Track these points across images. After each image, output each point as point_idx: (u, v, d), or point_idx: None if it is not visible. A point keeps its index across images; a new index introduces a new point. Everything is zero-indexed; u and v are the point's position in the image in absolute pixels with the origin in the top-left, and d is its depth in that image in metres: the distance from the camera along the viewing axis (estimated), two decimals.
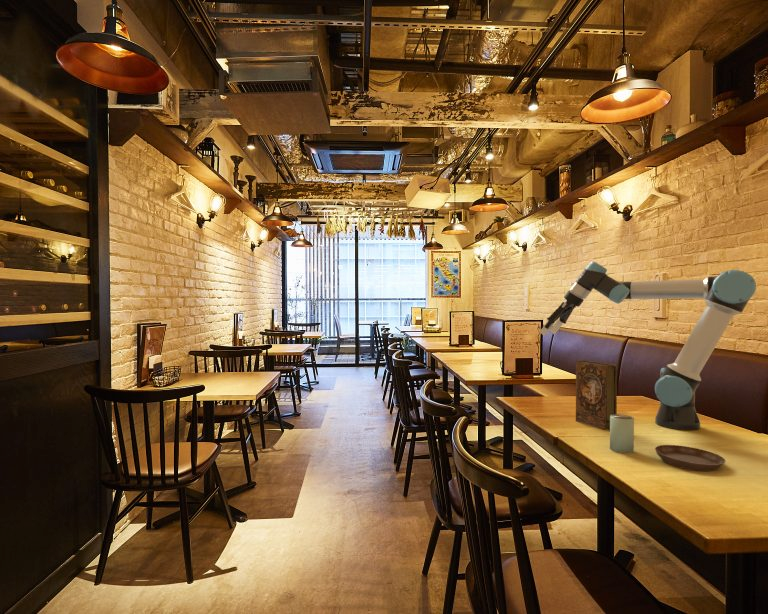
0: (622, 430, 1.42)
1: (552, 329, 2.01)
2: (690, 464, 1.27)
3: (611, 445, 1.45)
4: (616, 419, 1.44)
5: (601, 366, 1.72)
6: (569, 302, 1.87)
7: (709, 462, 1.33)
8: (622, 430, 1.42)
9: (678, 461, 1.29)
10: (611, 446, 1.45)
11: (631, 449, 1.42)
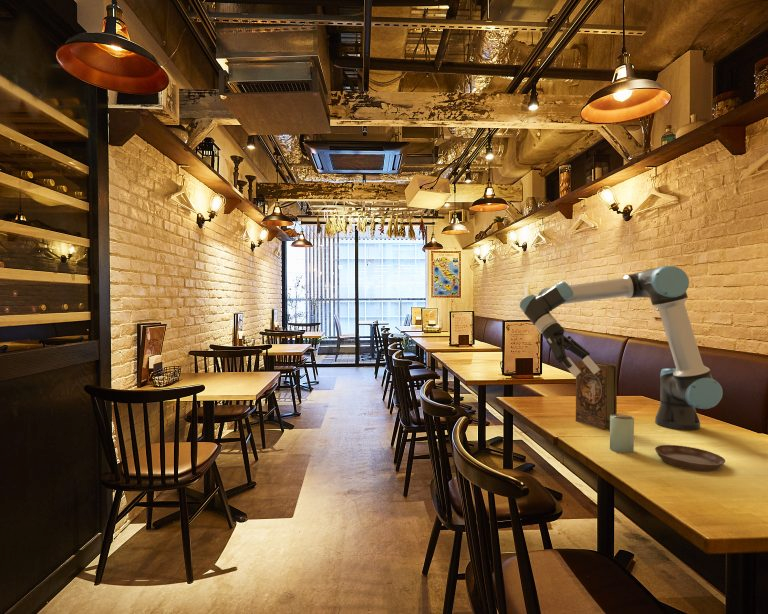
0: (622, 430, 1.42)
1: (592, 369, 1.60)
2: (690, 464, 1.27)
3: (611, 445, 1.45)
4: (616, 419, 1.44)
5: (601, 366, 1.72)
6: (551, 335, 1.62)
7: (709, 462, 1.33)
8: (622, 430, 1.42)
9: (678, 461, 1.29)
10: (611, 446, 1.45)
11: (631, 449, 1.42)
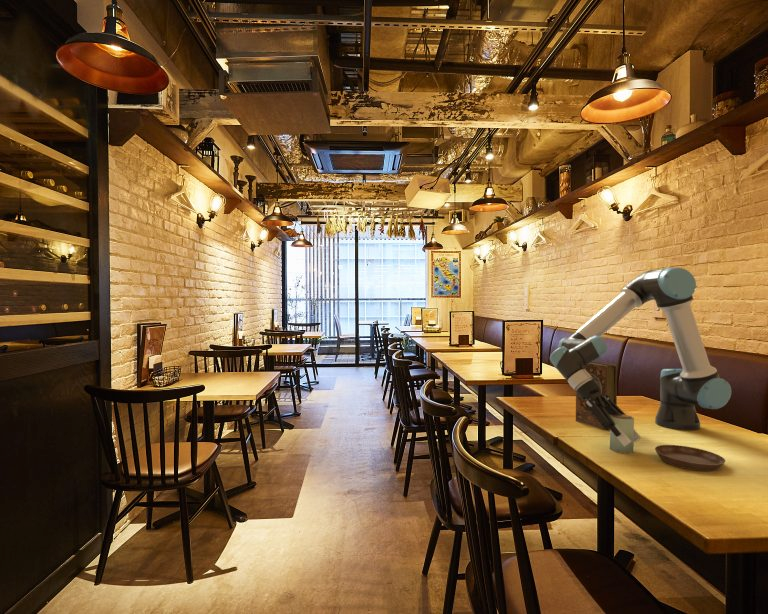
0: None
1: None
2: (690, 464, 1.27)
3: (611, 444, 1.45)
4: (616, 419, 1.44)
5: (601, 366, 1.72)
6: (587, 394, 1.51)
7: (709, 462, 1.33)
8: (622, 430, 1.42)
9: (678, 461, 1.29)
10: (611, 446, 1.45)
11: (631, 449, 1.42)
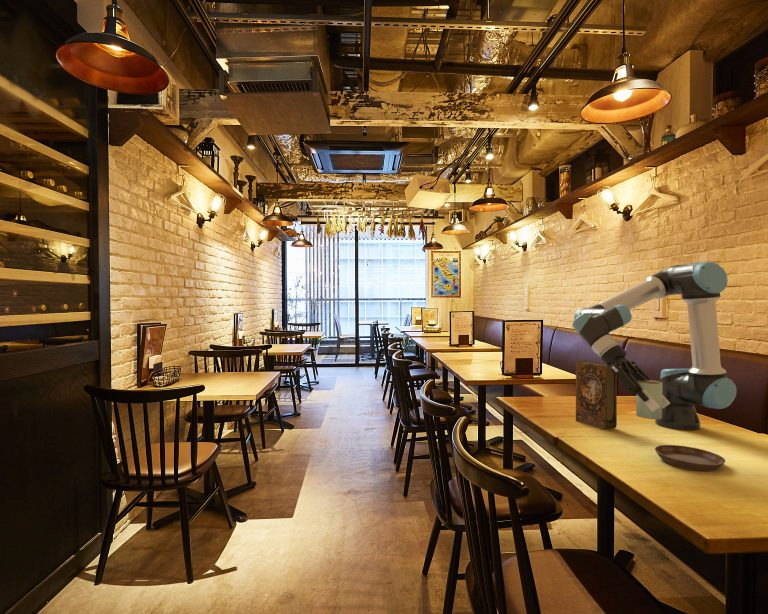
0: None
1: None
2: (690, 464, 1.27)
3: (638, 411, 1.40)
4: (643, 384, 1.38)
5: (601, 366, 1.72)
6: (613, 360, 1.45)
7: (709, 462, 1.33)
8: (650, 395, 1.37)
9: (678, 461, 1.29)
10: (638, 412, 1.40)
11: (659, 414, 1.37)
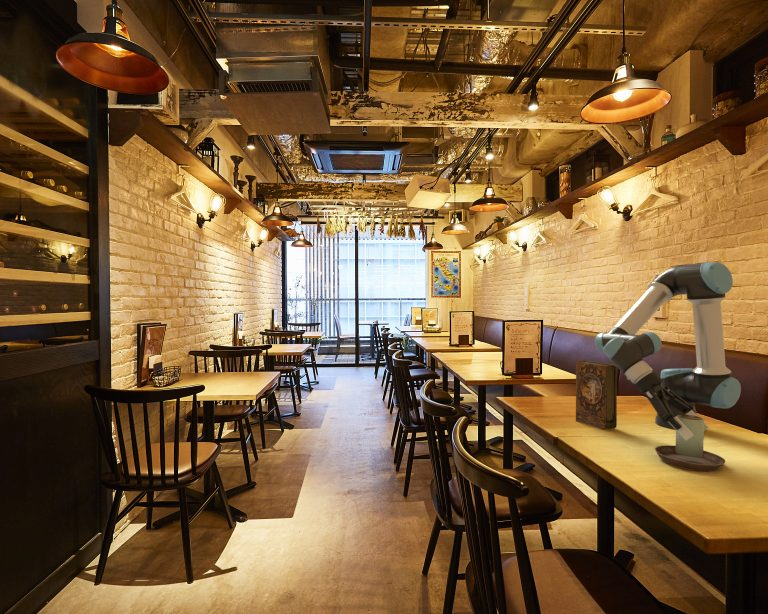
0: None
1: None
2: (690, 464, 1.27)
3: (678, 447, 1.34)
4: (685, 420, 1.32)
5: (601, 366, 1.72)
6: (649, 388, 1.39)
7: (709, 463, 1.33)
8: None
9: (678, 462, 1.29)
10: (678, 449, 1.34)
11: (700, 452, 1.31)
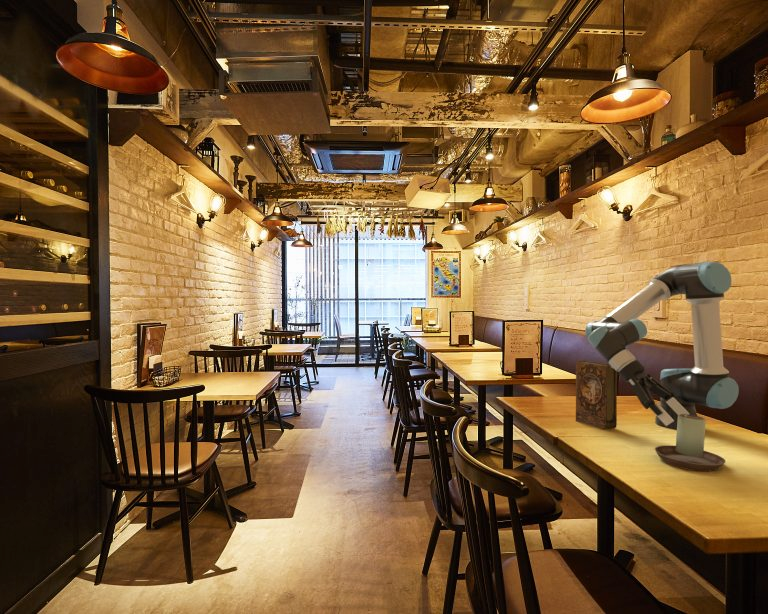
0: (693, 431, 1.31)
1: (680, 413, 1.41)
2: (690, 464, 1.27)
3: (679, 447, 1.34)
4: (687, 419, 1.32)
5: (601, 366, 1.72)
6: (632, 375, 1.43)
7: (709, 463, 1.33)
8: (693, 432, 1.31)
9: (678, 461, 1.29)
10: (678, 448, 1.34)
11: (701, 452, 1.31)
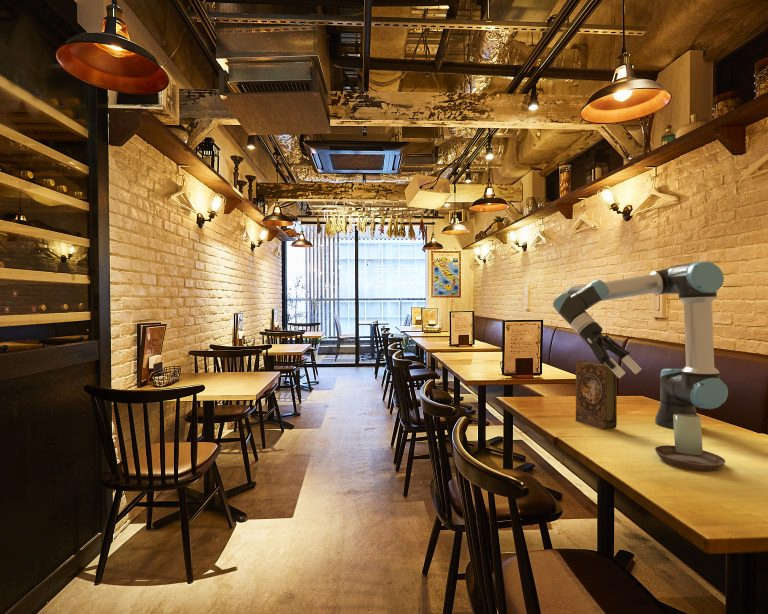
0: (692, 429, 1.32)
1: (633, 369, 1.55)
2: (690, 464, 1.27)
3: (680, 446, 1.33)
4: (685, 417, 1.33)
5: (601, 366, 1.72)
6: (590, 335, 1.56)
7: (709, 463, 1.33)
8: (692, 429, 1.32)
9: (678, 462, 1.29)
10: (679, 448, 1.33)
11: (701, 449, 1.32)
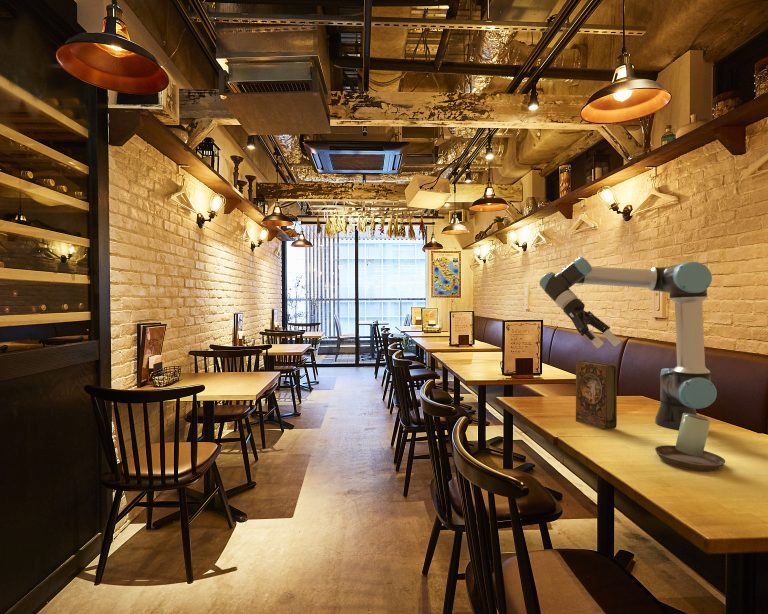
0: (703, 433, 1.30)
1: (613, 342, 1.65)
2: (690, 464, 1.27)
3: (686, 447, 1.32)
4: (699, 420, 1.30)
5: (601, 366, 1.72)
6: (573, 310, 1.67)
7: (709, 463, 1.33)
8: (703, 433, 1.30)
9: (678, 462, 1.29)
10: (684, 448, 1.32)
11: (703, 451, 1.32)
